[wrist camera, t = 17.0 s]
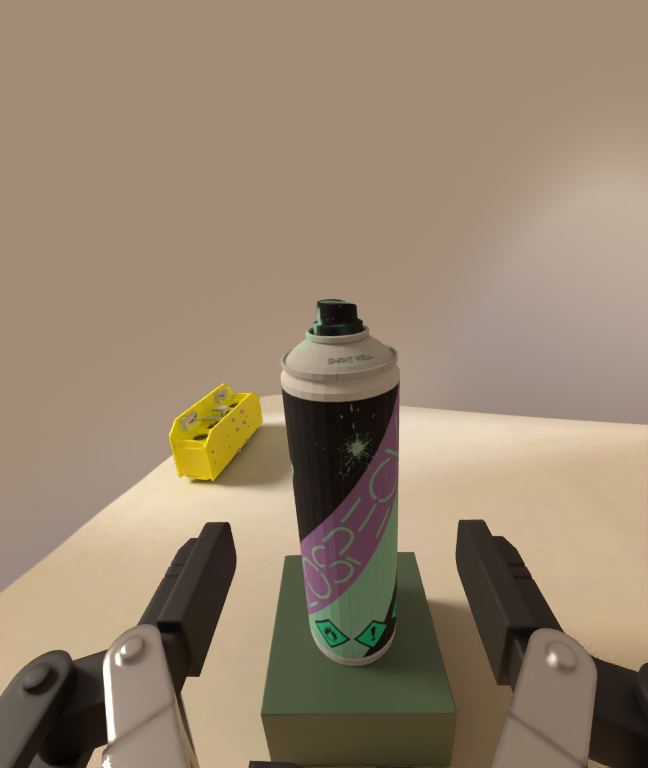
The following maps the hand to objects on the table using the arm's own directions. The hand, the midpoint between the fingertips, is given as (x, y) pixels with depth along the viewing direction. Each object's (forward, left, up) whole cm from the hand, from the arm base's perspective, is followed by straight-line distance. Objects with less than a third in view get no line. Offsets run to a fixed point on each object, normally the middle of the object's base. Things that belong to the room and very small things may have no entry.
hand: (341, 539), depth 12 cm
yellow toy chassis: (+14, +36, -18) cm, 43 cm away
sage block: (+5, +4, -18) cm, 19 cm away
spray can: (+4, +4, -13) cm, 14 cm away
